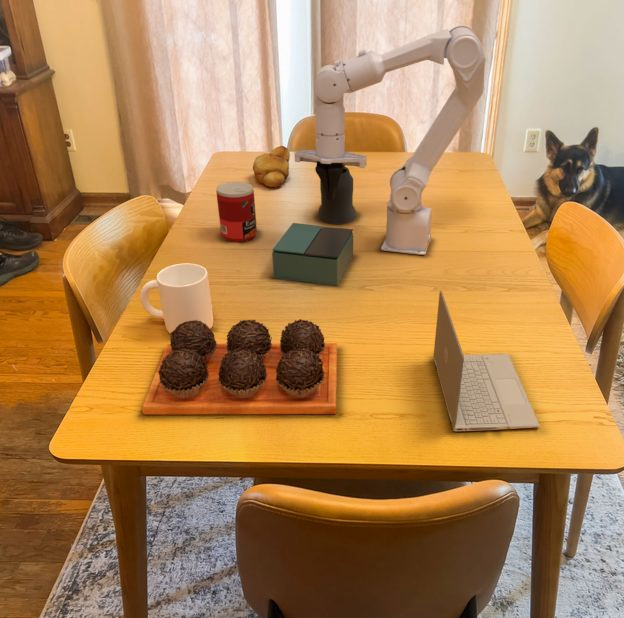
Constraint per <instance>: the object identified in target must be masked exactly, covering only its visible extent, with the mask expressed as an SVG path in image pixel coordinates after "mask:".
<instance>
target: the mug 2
mask: <svg viewBox="0 0 624 618" xmlns="http://www.w3.org/2000/svg"><path fill="white" fill-rule="evenodd" d="M319 184H320V186H319V187H320V188H319V189H320V202H321V203H320V206H319V208H318V213H317V219H318V220H319V221H320V222H322V223H324V224H329V225H345V224H349V223H352V222H354V221H355V220H356V218H357V213H356V208H355V206H354V201H353V199H354V198H353V196H354V177H353V176H352V174H351V173H350V169H349V167H348V166H345V167H344V169H343V171H342V173H341V176H340V178H339V181H338V184H337V188H336V193H335V198H334V199H333V200H328V199H326V194H325V191H324V187H323V185H322V182H321V180H320V179H319Z"/></svg>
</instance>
